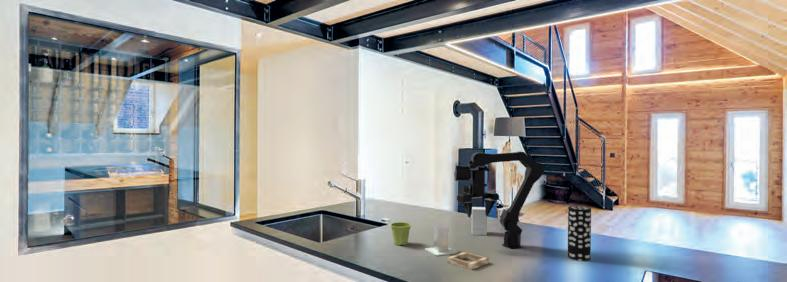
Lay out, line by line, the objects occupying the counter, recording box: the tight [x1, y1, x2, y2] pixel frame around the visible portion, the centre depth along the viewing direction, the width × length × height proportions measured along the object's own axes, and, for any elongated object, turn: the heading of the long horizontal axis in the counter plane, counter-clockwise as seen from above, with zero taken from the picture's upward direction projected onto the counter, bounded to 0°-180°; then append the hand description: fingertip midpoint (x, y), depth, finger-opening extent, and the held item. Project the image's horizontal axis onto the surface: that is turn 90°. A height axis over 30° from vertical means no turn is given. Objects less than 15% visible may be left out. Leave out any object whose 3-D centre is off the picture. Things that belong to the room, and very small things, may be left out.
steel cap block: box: [433, 224, 450, 252], centre depth 166 cm, size 4×5×10 cm
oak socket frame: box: [447, 251, 489, 271], centre depth 152 cm, size 11×11×2 cm
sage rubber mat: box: [424, 246, 459, 257], centre depth 167 cm, size 10×10×1 cm
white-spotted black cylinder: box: [567, 205, 592, 262], centre depth 159 cm, size 8×8×20 cm
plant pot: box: [389, 221, 412, 246], centre depth 178 cm, size 9×9×9 cm
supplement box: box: [471, 206, 488, 236], centre depth 198 cm, size 7×7×13 cm
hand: (478, 216), depth 175 cm, fingers open, 9 cm apart
